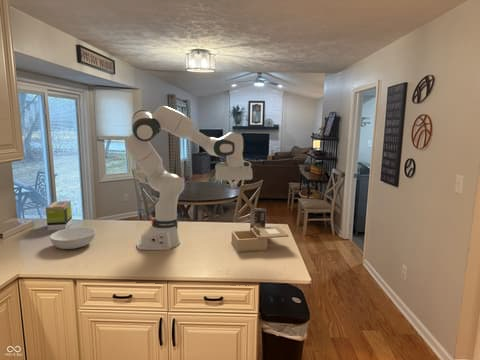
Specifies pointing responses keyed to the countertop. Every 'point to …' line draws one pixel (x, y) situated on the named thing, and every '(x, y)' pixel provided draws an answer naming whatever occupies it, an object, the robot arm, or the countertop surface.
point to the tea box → (59, 215)
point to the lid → (268, 232)
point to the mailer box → (248, 242)
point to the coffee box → (257, 217)
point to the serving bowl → (72, 237)
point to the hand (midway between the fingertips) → (233, 187)
